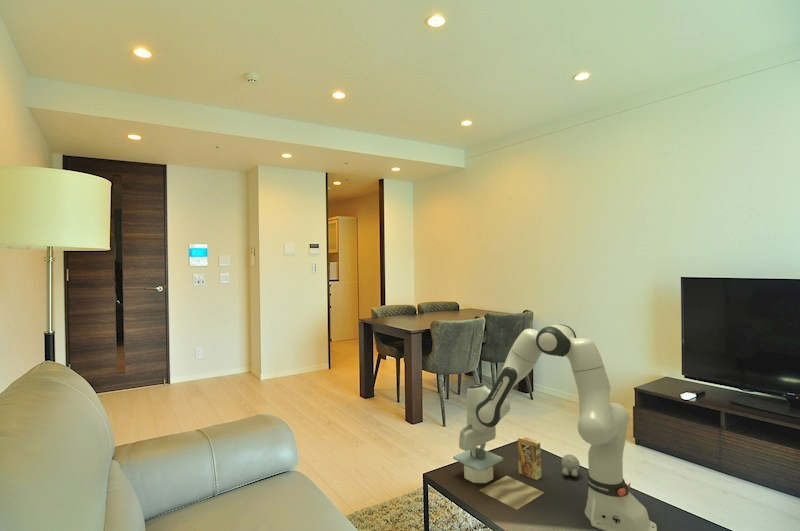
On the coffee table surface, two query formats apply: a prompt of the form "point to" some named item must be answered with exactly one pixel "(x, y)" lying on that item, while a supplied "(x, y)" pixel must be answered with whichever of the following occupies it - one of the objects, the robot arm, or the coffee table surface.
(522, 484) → the tan square mat
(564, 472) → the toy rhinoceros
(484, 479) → the bowl
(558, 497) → the coffee table surface
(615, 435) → the robot arm
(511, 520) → the coffee table surface
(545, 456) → the coffee table surface
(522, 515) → the coffee table surface
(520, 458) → the candy box
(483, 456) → the lid
